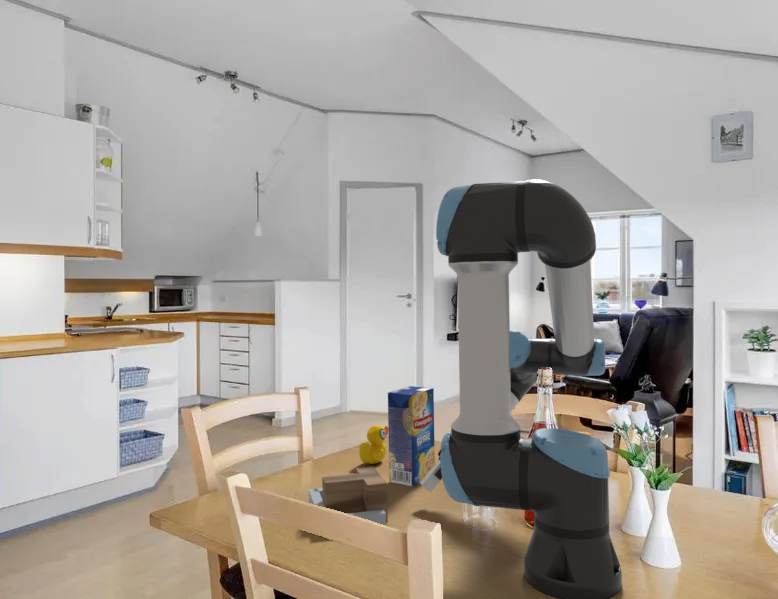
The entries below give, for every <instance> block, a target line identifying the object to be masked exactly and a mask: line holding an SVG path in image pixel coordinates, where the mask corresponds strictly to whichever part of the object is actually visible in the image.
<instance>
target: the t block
mask: <svg viewBox="0 0 778 599" xmlns="http://www.w3.org/2000/svg"><path fill="white" fill-rule="evenodd" d="M321 478H322V479H321V481H322V482H321V483H322V487H321V488H322V489H323V502H324V505H325V507H326V508H330V509H334V510H337V511H341V512H344V513H348V514H349V513H358V512H366V511H375V510H384V511H385V513H386V523H388V521H389V520H388V516H389V515H388V483H387V481H386V480H385V479H384V478H383V477H382V475H381V474H380V473H379V472H378V470H377V469H376V467H375V466H366V467H365V466H363V467H356V468H355V473H353V474H351V473H350V474H340V475H331V476H330V475H329V476H322V477H321Z"/></svg>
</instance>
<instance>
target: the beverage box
mask: <svg viewBox="0 0 778 599" xmlns="http://www.w3.org/2000/svg"><path fill="white" fill-rule="evenodd" d="M434 389H435V388H434V387H425V386H414V385H413V386H411V385H410V386H405V387H403V388H398V389H395V390H392V391H389V392H387V414H388V416H387V421H388V426H387V427H388V469H389V470H388V472H389V473H388V475H389V478H388V479H389V483H393V484H399V485H404V486H408V487H416V486H417V485H418V484H420V482H421V481H422V480H423V478H424V477H425V476H426V475H427V474H428V473H429V471H430V470H431V469H432V468H433V467H434V465H435V464H436V458H435V457H436V455H435V448H436V447H435V400H434V394H435V393H434V392H435V391H434Z"/></svg>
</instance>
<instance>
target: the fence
mask: <svg viewBox="0 0 778 599" xmlns="http://www.w3.org/2000/svg"><path fill="white" fill-rule="evenodd" d="M309 503H312V504H314V505H318V506H322V507H325V505H324V502H323V489H322V487H317V488H309V489H308V504H309ZM349 514H350V515H354V516H358V517H361V518H364V519H368V520H371V521H374V522H377V523H380V524H383V525H386V526H387V522H386V513H385V511H384V510H375V511H366V512H358V513H349Z"/></svg>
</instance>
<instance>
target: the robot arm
mask: <svg viewBox="0 0 778 599" xmlns="http://www.w3.org/2000/svg"><path fill="white" fill-rule="evenodd" d="M588 214H589V213H587V211H586V209H585V207H583V205H582V204H581V203H580V202H579V201H578V199H576V198H575V196H573V195H572V194H571V193H570V192H569V191H567V190H566V189H565V188H564V187H561V186H559V185H557V184H555V183H553V182H551V181H547V180H542V179H527V180H521V181H520V180H519V181H517V180H516V181H501V182H486V183H485V182H483V183H482V182H480V183H471V184H467V185H462V186H461V185H459V186H455V187H451V188H450V189H449V190H447V191H446V193H445V194H444V195H443V198H442V199H441V202H440V205H439V209H438V214H437V219H436V226H435V227H436V228H435V229H436V230H435V231H436V232H435V236H436V240H437V243H436V245H437V249H438V251H439V253H440V254H441V255H442V256H446V257H447V258H448V267H449V268H450V269H451V270H453V272H454V273H455V274H456V276H457V310H458V311H457V314H458V315H457V319H458V320H457V322H458V325H457V326H458V364H459V365H458V373H459V375H458V379H459V416H458V417H457V418H456V419H455V420H454V421H453V422H452V423H451V425H450V427H451V429H450V430H451V431H449V432H447V433H445V434H444V435H443V437H442V439H441V444H440V449H439V451H438V453H437V456H438V460H437V461H436V462H435V465H434V467H433V468H432V469H431V470H430V471H429V473H428V474H427V475H426V476H425V477H424V478H423V480H422V481H421V482H420V483H419V484H420V485H421V486H422V487H423V488H425V490H427V491H428V492H429V493H431V492H433V490H434V489H435V488H436V487H437V485H438V484H439V483H440V482H441V481H442V482H443V486H444V488H445V491H446V492H447V495H448V496H449V497H450V498H451V500H453V501H455V502H457V503H463V504H467V505H472V506H474V507H480V506H483V507H490V508H491V507H492V508H501V509H508V510H509V509H510V510H517V511H518V510H519V511H530V512H533V513H534V528H533V530H532V534H531V537H530V539H529V540H530V541H529V544H528V546H527V550H526V553H525V556H524V561H523V569H524V570H523V573H524V578H525V579H526V581H527V582H528V583H529V584H530V585H531V586H532V587H533V588H535V589H537V590H539V591H540V592H543V593H544V594H547V595H550V596H552V597H556V598H561V599H607V598H610V597H613V596H614V595H616V594H617V593H618V592H620V590H621V589H622V586H623V585H622V584H623V582H622V581H623V580H622V576H623V574H622V567H621V565H620V561H619V558H618V555H617V552H616V549H615V546H614V544H613V541H612V538H611V535H610V499H609V498H610V497H609V496H610V495H609V494H610V493H609V492H610V490H609V489H610V488H609V478H610V476H611V472H610V469H609V457H608V451H607V448H606V446H605V445H604V444H603V443H602V442H601V441H599V439H597V438H595V437H593V436H590V435H588V434H585V433H581V432H579V431H574V430H568V429H564V428H555V427H554V428H549V427H548V428H545V427H544V428H539V429H536V430H534V431H533V434H532V435H531V437H523V436H521V424H519V422H518V421H517V420H516V419H514V417H512V411H513V410H514V411H515V409H516V406H517V405H518V404H519V403H520V402H521V401H522V399H523V398H524V397H525V396H526V394H527V393H528V392H529V391H530V390H531V388H533V386H534V385H535V384H536V383H537V381H538V380H537V371H538V368H539V369H540V368H541V367H551V368H552V370H553V375H557V376H558V375H559V376H578V377H590V376H594V377H595V376H599V377H600V376H602V375H604V374H605V373H606V344H605V343H606V342H605V341H604V340H603V339H599V338H595V328H594V308H593V292H592V291H593V290H592V289H593V288H592V273H591V272H592V271H591V269H592V268H591V260H592V259H593V257H594V256H595V254H596V250H597V242H596V233H595V232H596V231H595V228H594V224H593V222H592V220H591V218H590V216H589V215H588ZM530 252H535V253H537V257H538V259H539V261H540V263H542V264H543V265H545V266H544V267H545V275H546V282H547V290H548V298H549V306H550V314H551V320H552V321H551V322H552V329H553V335H554V336H553V337H554V338H528V337H527V336H526V335H525V334H524V333H522V332H520V331H519V330H510V328H511V326H510V273H511V272H512V271H513V270H514V268H516V267H517V265H518V264H519V253H530Z"/></svg>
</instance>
